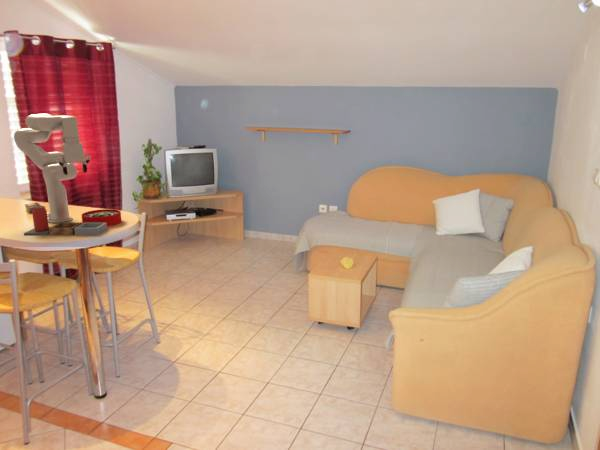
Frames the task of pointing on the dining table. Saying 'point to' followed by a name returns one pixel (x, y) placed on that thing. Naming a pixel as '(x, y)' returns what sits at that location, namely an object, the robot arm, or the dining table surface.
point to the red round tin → (102, 217)
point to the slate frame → (90, 228)
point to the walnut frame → (64, 229)
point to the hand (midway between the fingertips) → (75, 173)
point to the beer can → (40, 218)
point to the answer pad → (37, 232)
